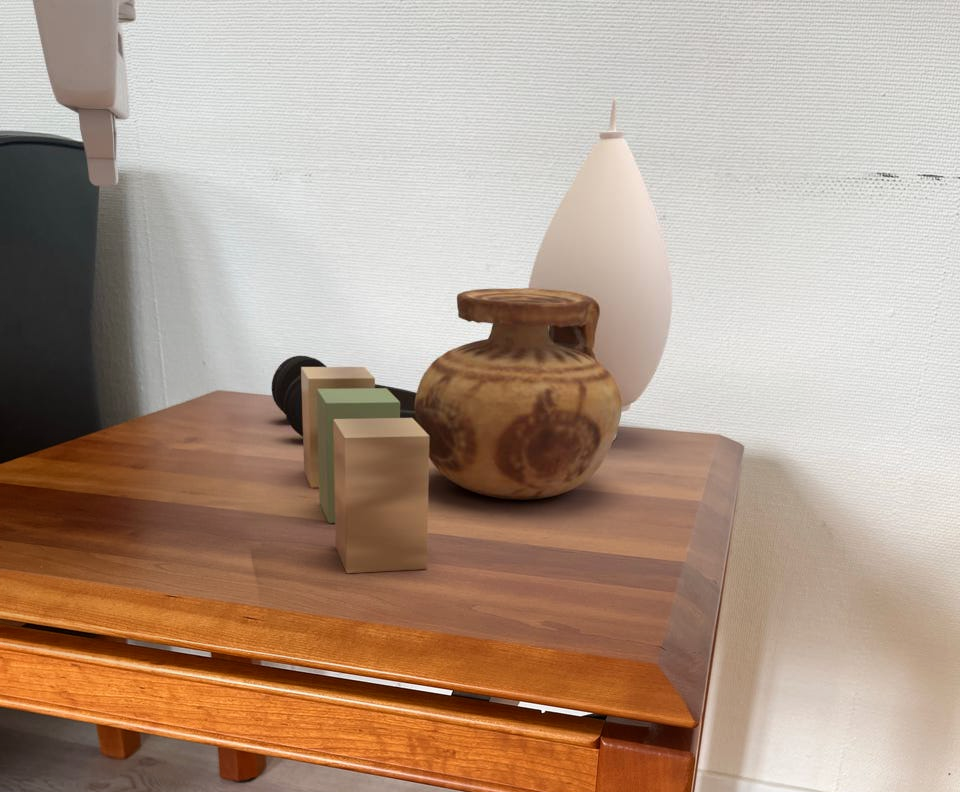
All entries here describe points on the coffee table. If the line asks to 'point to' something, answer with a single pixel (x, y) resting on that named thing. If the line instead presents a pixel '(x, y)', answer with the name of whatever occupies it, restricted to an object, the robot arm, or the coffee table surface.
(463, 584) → the coffee table surface
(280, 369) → the headphones
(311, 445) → the maple block far
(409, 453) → the maple block near
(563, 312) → the clay pot
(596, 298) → the lamp
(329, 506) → the green block
